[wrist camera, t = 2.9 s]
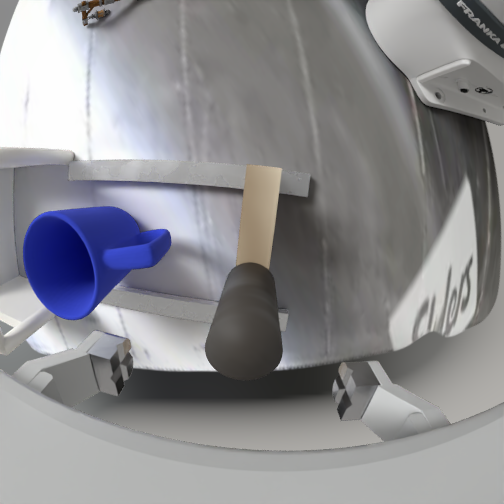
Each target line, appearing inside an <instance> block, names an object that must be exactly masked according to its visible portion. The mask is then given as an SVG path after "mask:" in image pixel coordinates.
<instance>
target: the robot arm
mask: <svg viewBox="0 0 504 504" xmlns="http://www.w3.org/2000/svg"><path fill="white" fill-rule="evenodd" d="M366 19H367V23H368V26H369V29H370V31H371V33H372V35H373V37H374V39H375V40H376V42H377V43H378V45H379V46H380V48H381V49H382V50H383V52H384V53H385V54H386V55H387V57H388V58H389V59H390V60H391V61H392V62H393V63H394V64H395V65H396V66H397V67H398V68H399V69H400V70H401V71H402V72H403V73H404V74H405V75H406V76H407V77H408V79H409V80H410V82H411V84H412V86H413V88H414V90H415V91H416V93H417V95H418V97H419V98H420V100H421V101H422V102H423V103H424V104H425V105H427V106H431V107H435V108H440V109H444V110H449V111H453V112H457V113H460V114H464V115H468V116H471V117H475V118H478V119H481V120H484V121H487V122H490V123H493V124H496V125H504V0H369V1H368V3H367V6H366ZM435 94H436V95H437V97H438V98H437V97H436V95H435ZM130 349H131V344H130V340H129V339H128V338H124V337H120V336H117V335H113V334H109V333H105V332H102V331H98V330H95V331H93V332H92V333H91V334H90V335H89V336H88V337H87V338H86V339H85V340H84V341H83V342H82V343H81V344H80V345H79V346H78V347H77V348H76V349H73V348H72V349H69V350H66V351H62V352H59V353H55V354H52V355H49V356H45V357H42V358H38V359H35V360H31V361H27V362H26V363H25V364H24V365H22V366H21V367H20V368H19V369H18V370H17V371H16V372H15V373H14V374H13V375H12V376H10V375H9V374H7V373H6V372H4V371H2V370H1V369H0V504H504V402H503V403H501V404H499V405H497V406H495V407H493V408H491V409H489V410H486V411H484V412H482V413H479V414H477V415H474V416H472V417H469V418H467V419H464V420H461V421H459V422H456V423H453V424H450V422H449V421H448V420H447V418H446V417H445V415H444V414H443V412H442V411H441V409H440V408H439V407H438V406H436V405H434V404H432V403H430V402H428V401H426V400H424V399H423V398H421V397H419V396H417V395H415V394H413V393H412V392H410V391H408V390H406V389H404V388H402V387H401V386H399V385H397V384H392V382H391V381H390V379H389V377H388V376H387V374H386V373H385V371H384V369H383V368H382V366H381V365H380V363H379V362H378V361H365V362H342V363H341V365H340V367H339V374H340V376H338V377H337V378H336V379H335V381H334V384H333V398H334V401H335V402H336V403H337V404H339V405H338V408H337V411H338V414H339V417H340V419H341V421H346V420H361V421H362V422H363V423H364V424H365V425H366V426H367V427H369V428H370V429H371V430H372V431H373V432H374V433H375V434H377V435H378V436H379V437H380V438H381V439H382V440H383V441H385V442H380V443H374V444H368V445H361V446H354V447H346V448H336V449H323V450H304V451H269V450H267V451H266V450H248V449H236V448H225V447H217V446H209V445H203V444H196V443H190V442H185V441H180V440H175V439H170V438H165V437H161V436H156V435H152V434H149V433H145V432H141V431H137V430H134V429H130V428H127V427H124V426H120V425H117V424H114V423H111V422H108V421H105V420H103V419H100V418H97V417H94V416H92V415H89V414H87V413H84V412H82V411H79V410H77V409H74V408H72V407H73V406H75V405H77V404H79V403H81V402H82V401H84V400H86V399H88V398H89V397H91V396H93V395H95V394H96V393H98V392H99V391H101V392H105V393H108V394H112V395H115V396H119V394H120V393H121V391H122V389H123V388H124V381H125V380H127V379H129V377H130V375H131V373H132V369H133V358H132V356H131V355H130V353H129V350H130Z"/></svg>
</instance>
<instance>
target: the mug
mask: <svg viewBox="0 0 504 504" xmlns="http://www.w3.org/2000/svg"><path fill="white" fill-rule="evenodd" d="M170 246H171V235H170V232H169V231H168V230H166V229H157V230H151V231H146V232H142V233H140V230H139V227H138V225H137V223H136V222H135V220H134V219H133V218H132V217H131V216H130V215H129V214H128V213H127V212H125V211H124V210H122V209H119V208H116V207H111V206H104V207H91V208H79V209H68V210H58V211H49V212H45V213H42V214H41V215H39V216H38V217H36V218H35V219H34V220H33V222H32V223H31V224H30V226H29V228H28V230H27V232H26V235H25V239H24V246H23V260H24V266H25V271H26V275H27V278H28V281H29V283H30V285H31V287H32V289H33V291H34V293H35V294H36V296H37V298H38V299H39V300H40V301H41V303H42V304H43V305H44V306H45V307H46V308H47V309H48V310H49V311H51V312H52V313H54V314H55V315H57V316H59V317H61V318H64V319H67V320H79V319H82V318H84V317H86V316H87V315H89V314H90V313H91V312H92V311H93V310H94V309H95V308H96V306H97V305H98V304H99V303H100V302H101V301H102V300H103V299H104V298H105V297H106V296H107V295H108V294H109V293H110V291H111V290H112V289H113V288H114V287H115V286H116V285H117V284H118V283H119V282H120V281H121V280H122V279H123V278H124V277H125V276H126V275H127V274H128V273H129V272H130V271H131V270H132V269H141V268H149V267H153V266H155V265H156V264H157V263H158V262H159V261H160V260H161V259H162V258H163V256H164V255H165V254H166V253H167V252H168V250H169V248H170Z"/></svg>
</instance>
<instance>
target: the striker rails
mask: <svg viewBox="0 0 504 504" xmlns="http://www.w3.org/2000/svg"><path fill="white" fill-rule="evenodd" d="M245 175H246V166H244V165H234V164H223V163H210V162H194V161H174V160H87V161H69V171H68V180H112V181H144V182H164V183H180V184H195V185H207V186H219V187H229V188H239V189H244V184H245ZM309 182H310V174H307V173H300V172H294V171H286V170H282V172H281V180H280V188H279V193H282V194H289V195H297V196H304V197H308V190H309ZM100 303H105V304H109V305H113V306H118V307H123V308H127V309H132V310H137V311H142V312H147V313H152V314H158V315H163V316H169V317H175V318H181V319H187V320H193V321H200V322H206V323H212V321H213V318H214V315H215V312H216V309H217V306H218V303H219V301H211V300H204V299H197V298H190V297H183V296H177V295H170V294H164V293H158V292H152V291H146V290H140V289H135V288H129V287H124V286H119V285H116V286H115V287H114V288H113V289H112V290H111V291H110V293H109V294H108V295H107V296H106V297H105V298H104V299H103V300H102V301H101V302H100ZM278 314H279V323H280V331H284V332H285V331H286V325H287V320H288V315H289V313H288V309H280V308H278Z"/></svg>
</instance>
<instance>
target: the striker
mask: <svg viewBox="0 0 504 504" xmlns="http://www.w3.org/2000/svg"><path fill="white" fill-rule="evenodd" d="M281 172H282V168H275V167H267V166H259V165H249V164H247V166H246V175H245V184H244V193H243V202H242V212H241V221H240V230H239V240H238V250H237V260H236V267H235V268H233V269H232V270H231V272H230V273H229V275H228V277H227V280H226V283H225V286H224V289H223V292H222V295H221V298H220V300H219V303H218V306H217V309H216V312H215V315H214V318H213V321H212V325H211V328H210V331H209V334H208V337H207V340H206V343H205V353H206V356H207V359H208V361H209V363H210V364H211V365H212V366H213V368H214V369H216V370H217V371H218V372H219V373H221V374H223V375H225V376H227V377H229V378H233V379H236V380H255V379H259V378H261V377H264V376H266V375H268V374H269V373H271V372H272V371H273V370H274V369H275V368H276V367H277V366H278V364H279V363H280V361H281V358H282V353H283V348H282V339H281V331H280V323H279V314H278V306H277V298H276V290H275V282H274V278H273V276H272V274H271V273H270V271H269V266H270V258H271V251H272V243H273V236H274V228H275V220H276V212H277V204H278V196H279V188H280V180H281Z"/></svg>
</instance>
